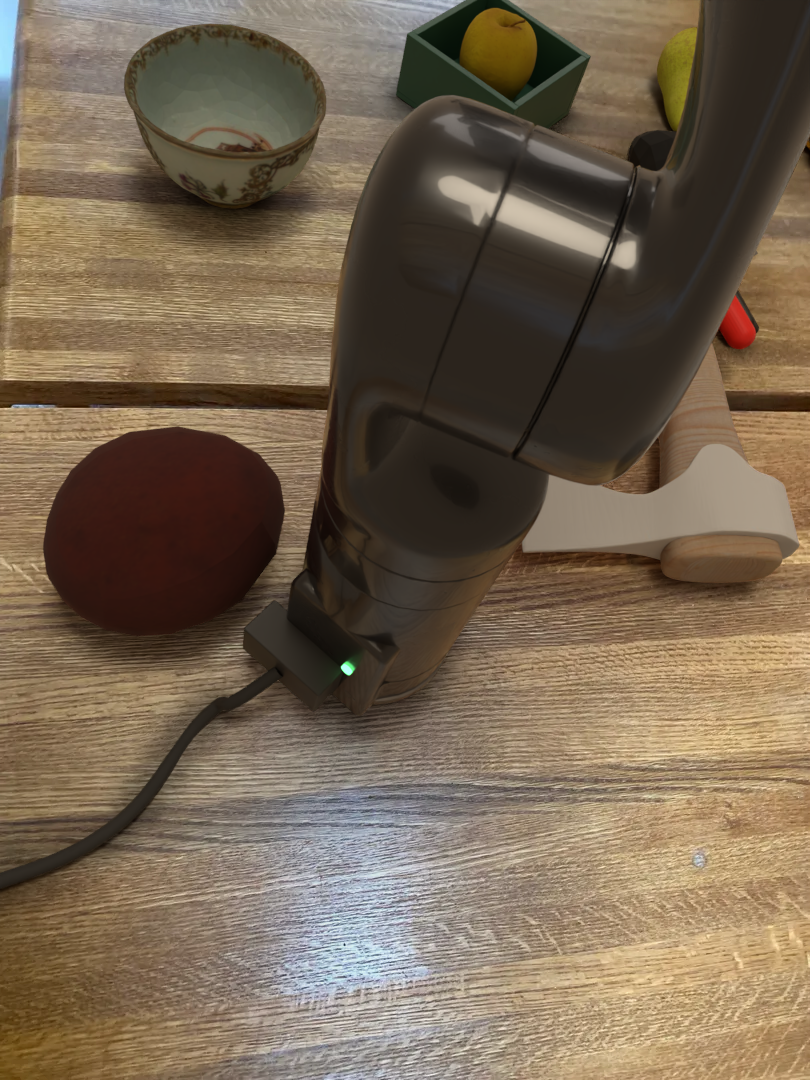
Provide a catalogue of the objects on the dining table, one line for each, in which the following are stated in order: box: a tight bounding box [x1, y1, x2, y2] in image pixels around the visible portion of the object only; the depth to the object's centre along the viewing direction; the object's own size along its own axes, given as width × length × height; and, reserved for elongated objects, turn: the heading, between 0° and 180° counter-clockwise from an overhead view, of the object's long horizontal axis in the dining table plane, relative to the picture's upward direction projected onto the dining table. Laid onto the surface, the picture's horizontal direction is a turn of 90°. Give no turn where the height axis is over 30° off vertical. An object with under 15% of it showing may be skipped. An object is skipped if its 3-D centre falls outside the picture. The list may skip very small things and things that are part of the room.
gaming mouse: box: [628, 129, 677, 171], centre depth 72 cm, size 6×15×4 cm, turn 7°
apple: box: [459, 8, 537, 101], centre depth 71 cm, size 6×6×8 cm
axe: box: [521, 342, 800, 584], centre depth 61 cm, size 18×5×30 cm
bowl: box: [123, 23, 327, 210], centre depth 62 cm, size 14×13×8 cm
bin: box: [395, 0, 591, 129], centre depth 73 cm, size 11×11×6 cm
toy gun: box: [718, 250, 760, 350], centre depth 63 cm, size 10×12×5 cm
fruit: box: [656, 26, 697, 131], centre depth 78 cm, size 6×6×12 cm
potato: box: [42, 425, 286, 638], centre depth 46 cm, size 11×13×10 cm
